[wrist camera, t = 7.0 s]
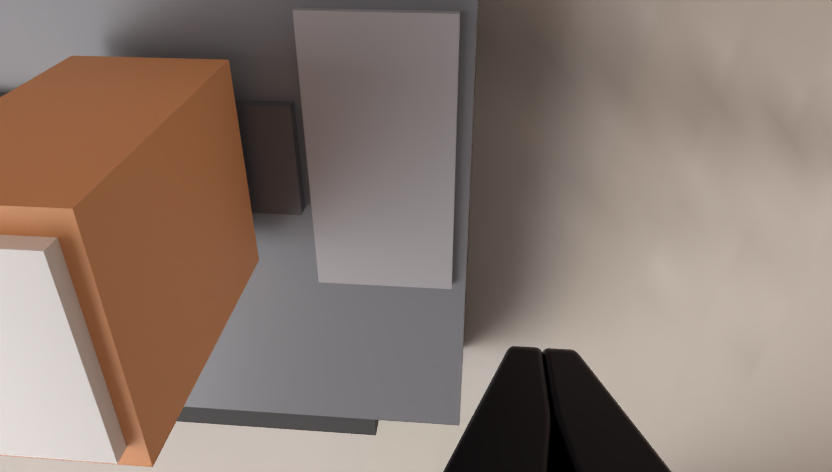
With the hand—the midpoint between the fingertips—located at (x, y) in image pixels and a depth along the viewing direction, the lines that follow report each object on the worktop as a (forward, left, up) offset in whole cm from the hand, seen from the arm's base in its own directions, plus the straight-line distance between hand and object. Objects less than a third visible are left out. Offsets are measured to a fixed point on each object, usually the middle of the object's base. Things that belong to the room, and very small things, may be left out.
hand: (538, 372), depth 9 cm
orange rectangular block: (+7, 0, -5) cm, 9 cm away
